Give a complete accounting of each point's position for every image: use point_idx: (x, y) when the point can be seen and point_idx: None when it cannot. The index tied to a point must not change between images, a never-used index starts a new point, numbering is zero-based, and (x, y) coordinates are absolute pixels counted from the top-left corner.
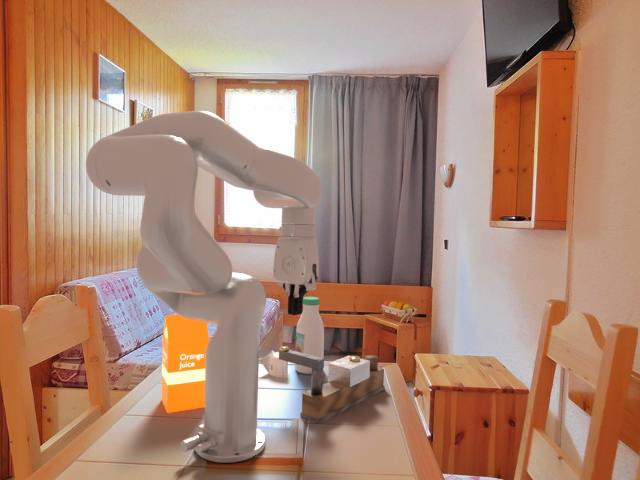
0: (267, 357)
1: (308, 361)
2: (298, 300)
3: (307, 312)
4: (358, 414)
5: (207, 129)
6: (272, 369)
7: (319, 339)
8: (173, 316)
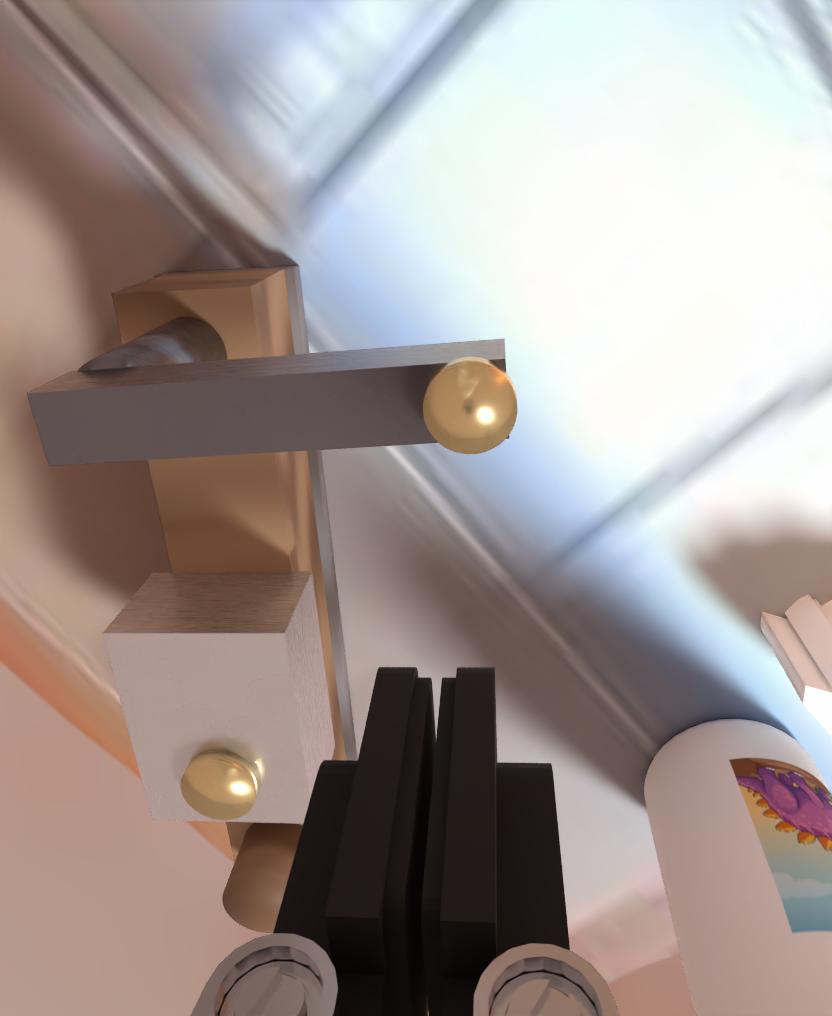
0: None
1: (153, 376)
2: (281, 916)
3: None
4: (130, 499)
5: None
6: None
7: (688, 952)
8: None
